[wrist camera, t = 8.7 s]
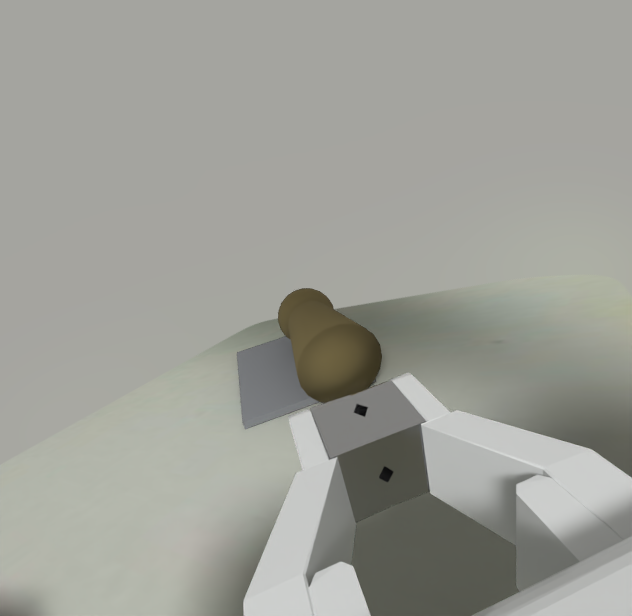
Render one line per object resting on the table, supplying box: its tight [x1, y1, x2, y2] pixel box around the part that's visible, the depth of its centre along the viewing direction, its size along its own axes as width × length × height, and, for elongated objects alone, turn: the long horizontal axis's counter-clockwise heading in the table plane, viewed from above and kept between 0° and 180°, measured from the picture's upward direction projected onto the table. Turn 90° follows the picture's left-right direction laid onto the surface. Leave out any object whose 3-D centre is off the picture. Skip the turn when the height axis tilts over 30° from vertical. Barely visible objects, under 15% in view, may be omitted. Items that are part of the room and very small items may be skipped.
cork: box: [278, 288, 382, 403], centre depth 28 cm, size 6×6×11 cm
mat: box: [237, 336, 376, 429], centre depth 29 cm, size 10×11×1 cm
